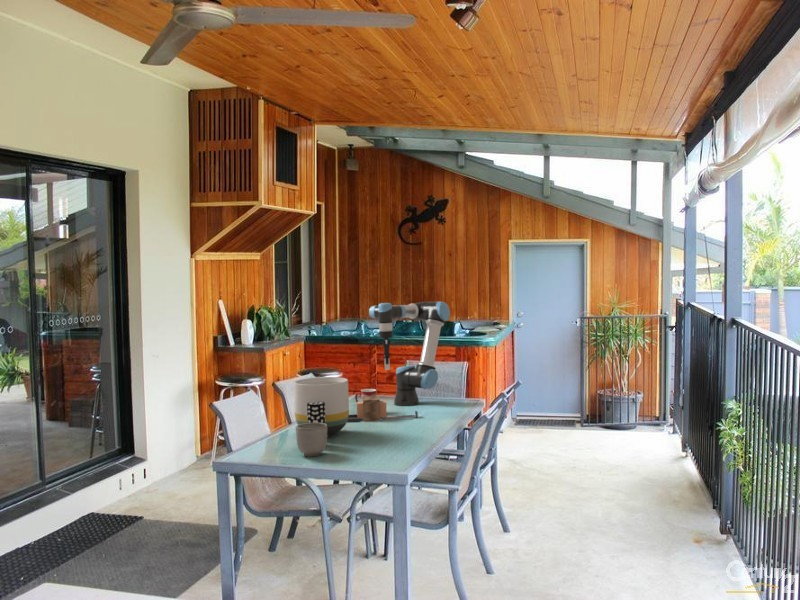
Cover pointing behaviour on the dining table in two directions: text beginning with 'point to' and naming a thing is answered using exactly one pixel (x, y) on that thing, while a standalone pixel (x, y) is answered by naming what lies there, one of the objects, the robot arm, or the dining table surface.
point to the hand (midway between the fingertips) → (387, 368)
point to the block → (382, 409)
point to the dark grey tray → (353, 418)
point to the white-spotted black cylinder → (316, 412)
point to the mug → (366, 393)
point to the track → (399, 416)
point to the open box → (371, 408)
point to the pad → (397, 419)
